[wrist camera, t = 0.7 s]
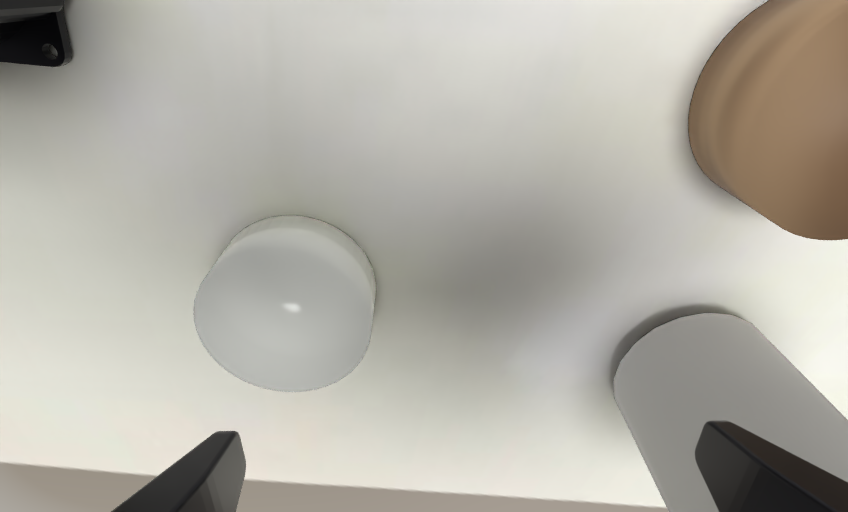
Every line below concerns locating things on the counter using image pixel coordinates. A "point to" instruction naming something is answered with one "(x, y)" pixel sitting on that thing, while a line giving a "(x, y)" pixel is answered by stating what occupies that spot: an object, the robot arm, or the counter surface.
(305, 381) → the white domed puck
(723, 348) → the can
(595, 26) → the counter surface
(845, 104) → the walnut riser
